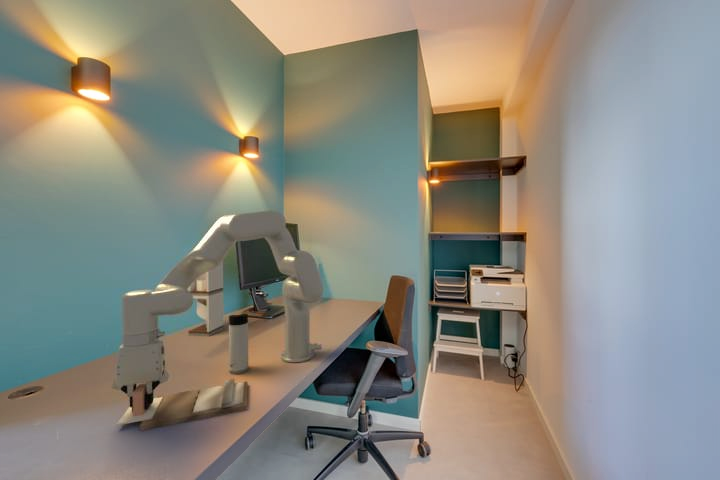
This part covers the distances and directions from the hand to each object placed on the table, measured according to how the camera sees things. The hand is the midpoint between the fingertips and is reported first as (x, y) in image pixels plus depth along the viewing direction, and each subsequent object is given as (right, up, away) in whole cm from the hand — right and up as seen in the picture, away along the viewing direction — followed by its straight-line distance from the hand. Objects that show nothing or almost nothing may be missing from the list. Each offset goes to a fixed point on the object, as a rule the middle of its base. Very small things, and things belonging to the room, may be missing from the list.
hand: (141, 407), depth 76 cm
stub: (0, -1, 0) cm, 1 cm away
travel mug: (+15, -2, +26) cm, 30 cm away
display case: (-19, -2, +68) cm, 70 cm away
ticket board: (+13, -2, +5) cm, 14 cm away
